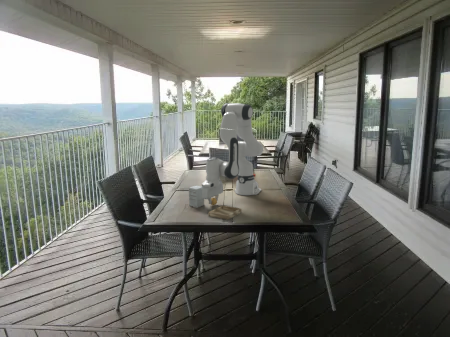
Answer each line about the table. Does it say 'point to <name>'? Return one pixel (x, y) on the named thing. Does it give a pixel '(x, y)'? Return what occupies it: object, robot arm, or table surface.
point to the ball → (213, 201)
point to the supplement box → (195, 196)
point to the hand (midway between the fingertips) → (213, 202)
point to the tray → (225, 212)
